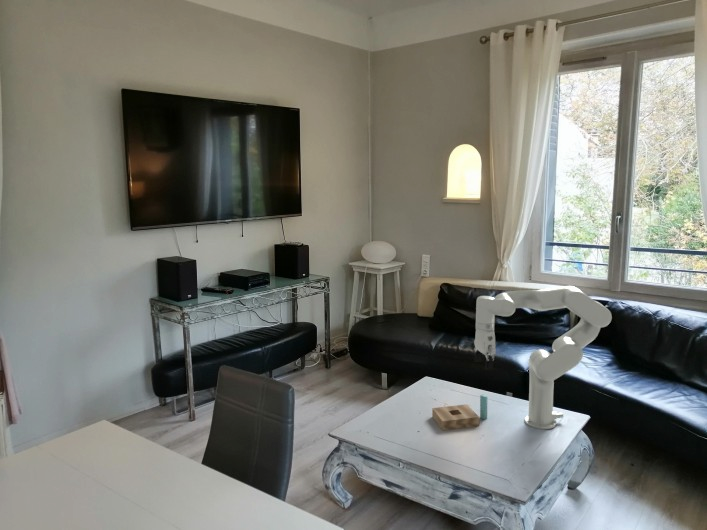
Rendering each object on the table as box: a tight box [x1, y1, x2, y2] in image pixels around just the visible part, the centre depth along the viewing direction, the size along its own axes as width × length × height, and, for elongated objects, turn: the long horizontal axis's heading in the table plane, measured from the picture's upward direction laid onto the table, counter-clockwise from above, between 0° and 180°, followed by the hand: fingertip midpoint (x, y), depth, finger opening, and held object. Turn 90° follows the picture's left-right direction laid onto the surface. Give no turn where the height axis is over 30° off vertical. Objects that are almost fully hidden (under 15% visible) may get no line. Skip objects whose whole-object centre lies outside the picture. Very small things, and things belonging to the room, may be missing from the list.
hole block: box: [431, 403, 480, 431], centre depth 231 cm, size 16×13×4 cm
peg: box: [479, 394, 488, 420], centre depth 233 cm, size 3×3×10 cm
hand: (483, 365), depth 226 cm, fingers open, 9 cm apart
